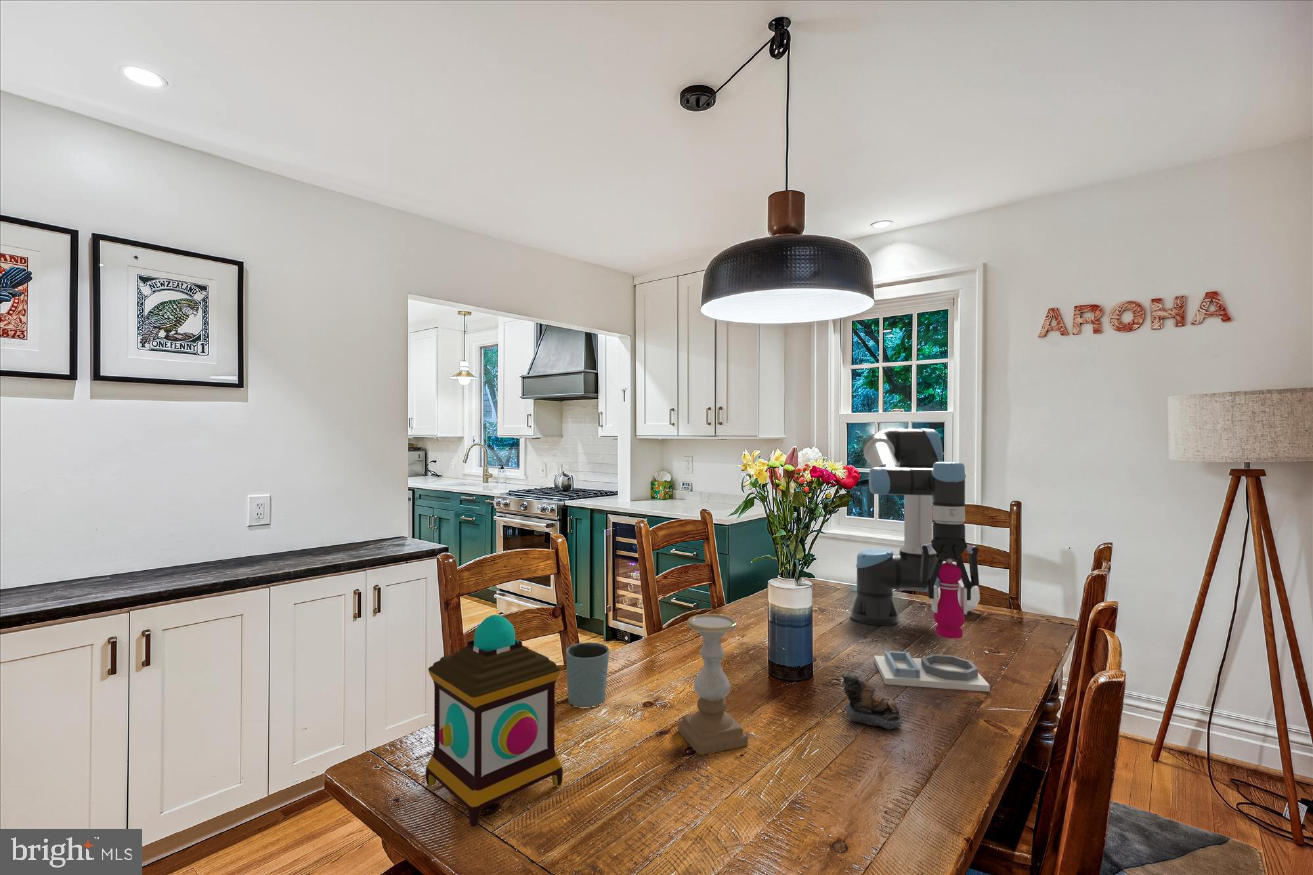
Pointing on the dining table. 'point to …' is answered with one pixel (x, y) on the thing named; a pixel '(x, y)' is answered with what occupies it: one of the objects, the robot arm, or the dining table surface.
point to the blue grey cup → (587, 673)
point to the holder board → (928, 677)
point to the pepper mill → (949, 602)
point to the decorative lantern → (493, 718)
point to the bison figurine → (869, 704)
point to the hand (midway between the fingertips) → (948, 611)
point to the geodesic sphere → (974, 596)
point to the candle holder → (712, 692)
